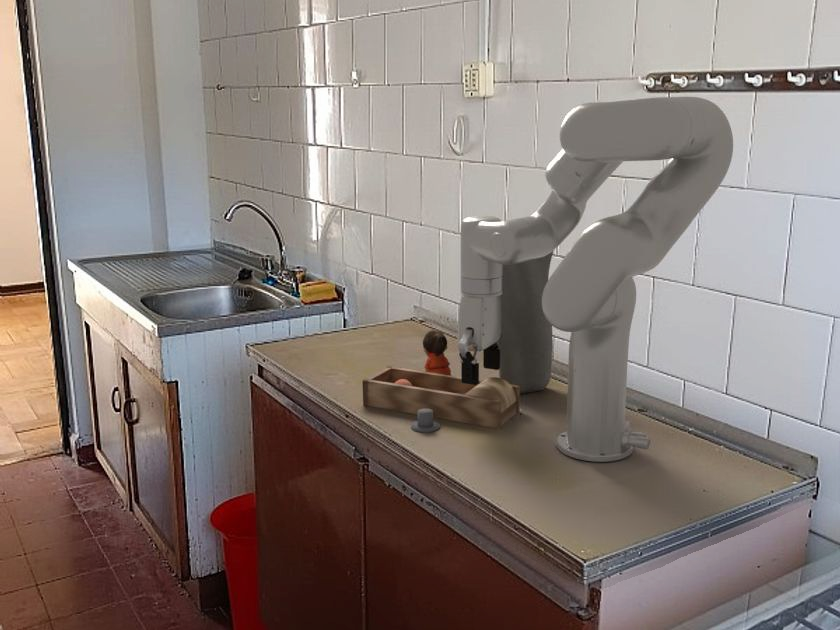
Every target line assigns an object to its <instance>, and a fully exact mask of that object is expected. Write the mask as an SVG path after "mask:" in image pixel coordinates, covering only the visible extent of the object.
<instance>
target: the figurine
mask: <svg viewBox="0 0 840 630" xmlns="http://www.w3.org/2000/svg"><path fill="white" fill-rule="evenodd" d="M422 346H423V352H424V353H425V355H426V356H427V358H426V360H425V364H424V372H431V373H437V374H444V375H451V376H452V373H451V372H452V371H451V370H452V369H451V367H450V365H451V362H450V361H449V359H448V358H447V357H446V356H445V351H446V350H447V349H448V340H447V337H446V335H445V334H444V333H443V332H442V331H441V330H438V329H432V330H428V331H427V332H426V333H425V335H424V336H423V340H422Z"/></svg>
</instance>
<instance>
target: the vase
mask: <svg viewBox="0 0 840 630" xmlns="http://www.w3.org/2000/svg"><path fill="white" fill-rule="evenodd" d="M553 255H554V250H553V251H552V252H551V253H549V254H548V255H546V256H544V257H540V258H536V259H532V260H528V261H525V262H521V263H517V264H513V265H503V290H502V295H500V299H501V319H502V323H503V325H502V330H501V334H502V335H501V336H502V337H501V339H500V342H501V348H500V369H499V370H498V372H499V373H498V374H499V378H501V379H503V380H505V381H507V382H508V383H509V384H511V385H517V386H520V395H521V394H525V393H533V392H538V391H542V390H543V389H545V388H546V387H548V386H549V383H550V382H551V374H552V373H551V372H552V364H553V326H552V325H551V324H550V323H549V322H548V320H547V319H546V317H545V315H544V313H543V309H542V294H543V290H544V288H545V285H546V283H547V282H548V280H549V277H550V276H549V274H550V269H551V268H550V267H551V262H552V259H553ZM498 349H499V348H498Z"/></svg>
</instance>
